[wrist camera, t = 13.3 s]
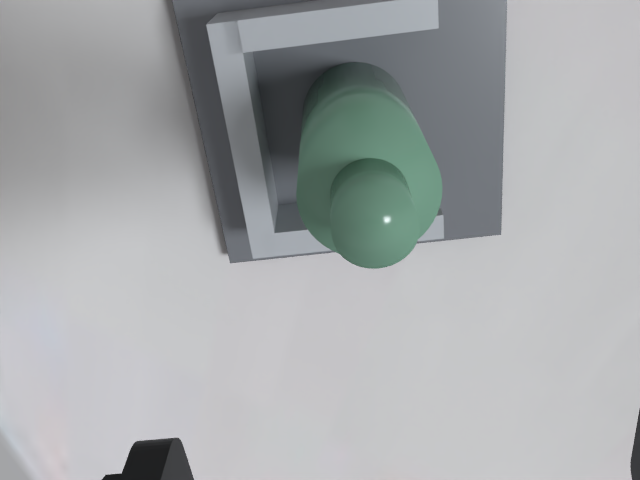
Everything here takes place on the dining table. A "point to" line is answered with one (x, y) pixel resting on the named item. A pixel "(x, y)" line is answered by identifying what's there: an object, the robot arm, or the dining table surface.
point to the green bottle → (364, 167)
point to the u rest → (301, 72)
